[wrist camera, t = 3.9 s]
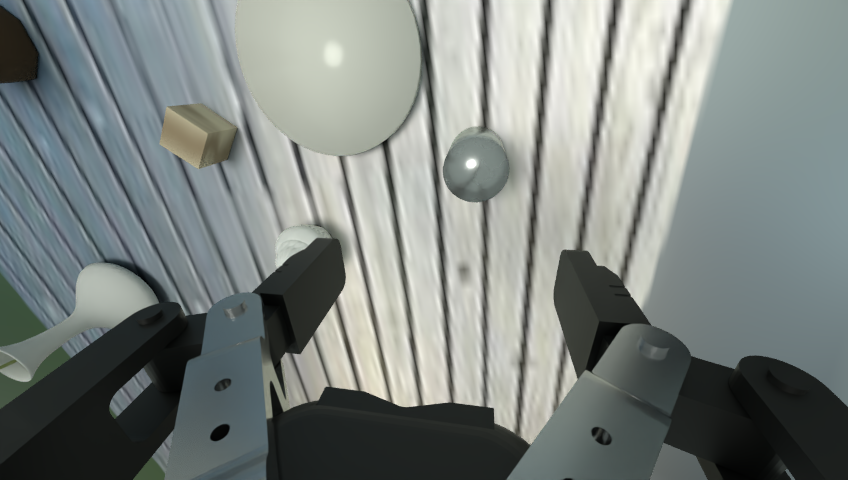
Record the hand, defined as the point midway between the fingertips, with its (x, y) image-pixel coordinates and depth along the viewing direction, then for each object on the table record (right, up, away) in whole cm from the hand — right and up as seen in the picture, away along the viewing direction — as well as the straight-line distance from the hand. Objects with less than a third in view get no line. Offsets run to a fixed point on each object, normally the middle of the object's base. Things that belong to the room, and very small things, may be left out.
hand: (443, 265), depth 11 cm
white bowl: (-9, +17, +16) cm, 25 cm away
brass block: (-22, +12, +21) cm, 33 cm away
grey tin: (+4, +9, +18) cm, 20 cm away
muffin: (-13, +1, +25) cm, 28 cm away
